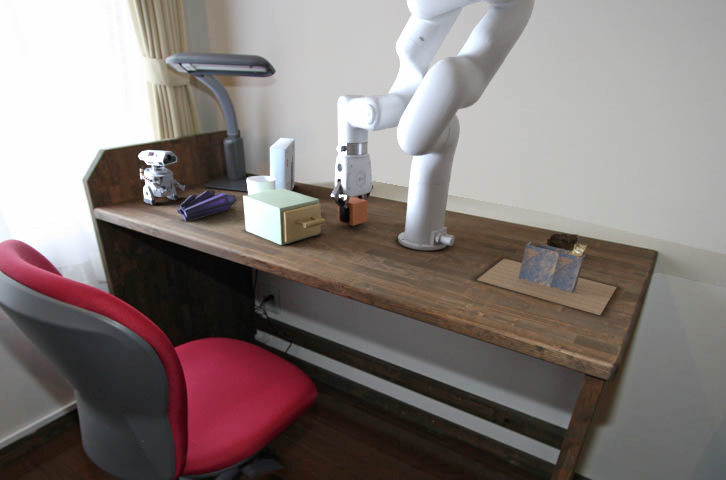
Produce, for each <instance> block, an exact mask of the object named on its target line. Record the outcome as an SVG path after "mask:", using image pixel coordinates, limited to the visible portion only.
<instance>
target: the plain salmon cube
mask: <svg viewBox="0 0 726 480" xmlns="http://www.w3.org/2000/svg"><path fill="white" fill-rule="evenodd" d="M344 200H345V198H343V201H344ZM368 200H369V199H368ZM368 200H364V199H359V198H357V197H356V196H355V197H350V199H349V203H348V208H349V222H348V223H346V222H342V221H340V220H339V206H338V205H337V222H339V223H342V224H346V225H349V226H356V225H360V224H363V223H366V222H368Z"/></svg>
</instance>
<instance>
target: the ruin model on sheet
mask: <svg viewBox="0 0 726 480" xmlns="http://www.w3.org/2000/svg"><path fill="white" fill-rule="evenodd" d="M577 243H578V242H577ZM587 246H588V244H582V245H581V244H575V246H574V249H573V251H568V250H564V249H559V248H555V247H551V246H548V245H547V244H543V243H541V244H539V246H535V245H532V241H529V242H528V243H527V244H525V249H524V253H523V257H522V261H521V262H519V261H517V260H516V261H515V260H512V259H508V258H502V259H501V260H500V261H499V262H497V263H495V264H494V266H493V267H491V268H489V269H488V270H487V271H486V272H485V273H484V274H482V275H481V276H479V277H478V278H476V281H478V282H483V283H485V284H489V285H492V286H496V287H500V288H504V289H507V290H511V291H514V292H518V293H520V294H523V295H526V296H527V295H528V296H531V297H535V298H539V299H542V300H545V301H549V302H552V303H555V304H559V305H563V306H566V307H569V308H573V309H576V310H580V311H584V312H588V313H590V314H594V315H597V316H601V315H602V313H603V311H604V310H605V308H606V307H607V305H608V303H609V301H610V300H611V298H612V297H613V294H614V293H615V291H616V289H617V288H618V287H617V286H615V285H610V284H606V283H602V282H599V281H594V280H590V279H586V278H583V277H580V275H581V271H582V269H583V266H584V261H585V258H586V256H587V255H586V254H585V251H586V249H587Z"/></svg>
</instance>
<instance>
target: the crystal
mask: <svg viewBox="0 0 726 480" xmlns="http://www.w3.org/2000/svg"><path fill="white" fill-rule="evenodd" d="M235 202H237V198H236V195H234V194H229V193H227V192H224V191H223V192H219V193H217V194H216V190H205V191H203V192H202V193H199V195H197V194H191V195H189V196H188V197H187V198H186V199H185V200H184V201H183V202H181V204H180V205H179V206H180V207H179V208H177V209H176V211H177V213H178V214H179V215H181V216H182V219H183V220H184V221H185V222H188V221H193V220H196V219H198V218H203V217H207V216H210V215H214V214H218V213H222V212H226V211H229V210H230V208H231V207H233V205H234V204H235Z"/></svg>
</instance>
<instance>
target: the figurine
mask: <svg viewBox="0 0 726 480" xmlns="http://www.w3.org/2000/svg"><path fill="white" fill-rule="evenodd" d="M137 157H138V158H139V161H144V162H145V163H146V165H147V166H151V167H147V166H141V168H139V176H140V177H139V178H140V181H144V182H145V185H144V186H143V191H142V192H143V202H145V203H146V204H149V205H151V206H154V205H156V204H157V202H156V199H155V197H157V198H164V197H167V199H169V200H173V201H178V200H179V195H178V193H177V189H176V188H179V189H180V190H181V191H185V190H186V188H188V187H189V184H188V182H186V181H185V184H184V185H182V184H180V182H178V181H177V179H174V171H172V170H170V169H169V168H167V167H166V166H169V165H172V164H173V165H174V164H175V163H178V156H177V155H175V153H174V152H173V151H171V150H155V149H153V150H152V149H146V150H143V151H141V152H140V153H139V154H138V156H137ZM144 168H145V169H144Z"/></svg>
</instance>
